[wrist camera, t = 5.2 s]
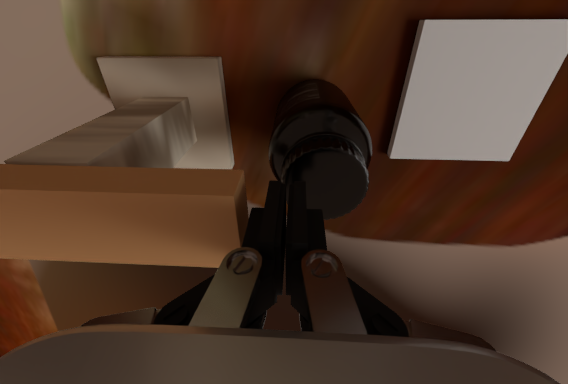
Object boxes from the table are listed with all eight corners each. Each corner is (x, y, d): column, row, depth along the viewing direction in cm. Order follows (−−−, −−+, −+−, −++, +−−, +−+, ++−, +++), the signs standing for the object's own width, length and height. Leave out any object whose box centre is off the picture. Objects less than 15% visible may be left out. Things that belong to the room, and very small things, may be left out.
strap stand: (105, 56, 22) (-113, 92, 10) (221, 56, 21) (128, 94, 10) (142, 161, 27) (27, 261, 16) (234, 163, 27) (184, 268, 15)
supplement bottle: (274, 147, 25) (257, 227, 15) (279, 73, 22) (261, 116, 12) (342, 154, 25) (368, 239, 15) (359, 82, 22) (409, 132, 12)
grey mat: (419, 20, 19) (425, 19, 18) (573, 19, 19) (586, 19, 18) (386, 153, 25) (390, 158, 24) (501, 156, 25) (508, 160, 24)
